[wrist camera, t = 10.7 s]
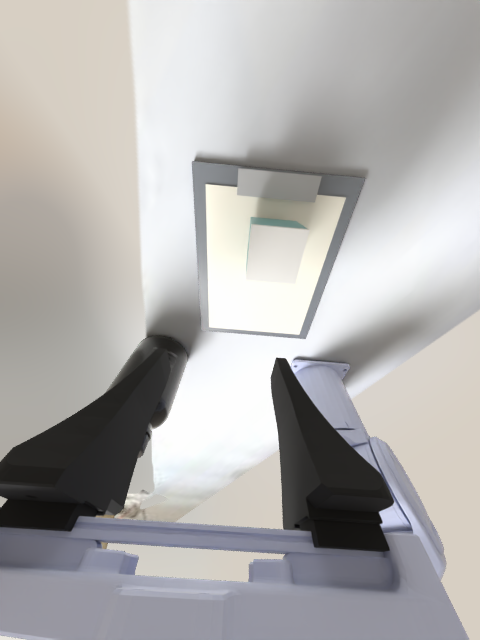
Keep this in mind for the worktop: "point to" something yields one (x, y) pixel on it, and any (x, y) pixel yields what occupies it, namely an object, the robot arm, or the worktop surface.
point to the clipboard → (233, 233)
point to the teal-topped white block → (275, 250)
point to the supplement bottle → (177, 368)
